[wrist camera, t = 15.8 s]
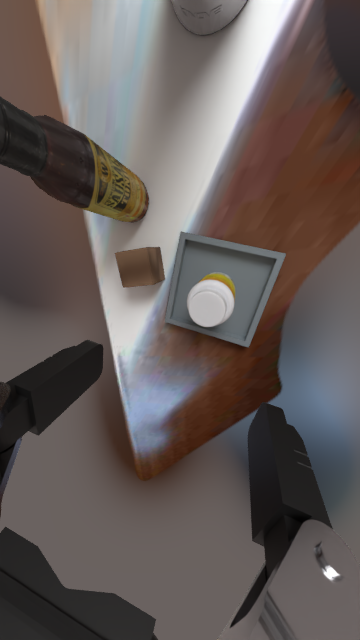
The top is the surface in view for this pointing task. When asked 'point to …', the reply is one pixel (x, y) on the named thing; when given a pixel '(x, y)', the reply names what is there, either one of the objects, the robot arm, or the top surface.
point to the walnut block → (140, 266)
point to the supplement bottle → (211, 300)
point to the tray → (241, 266)
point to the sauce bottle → (69, 165)
